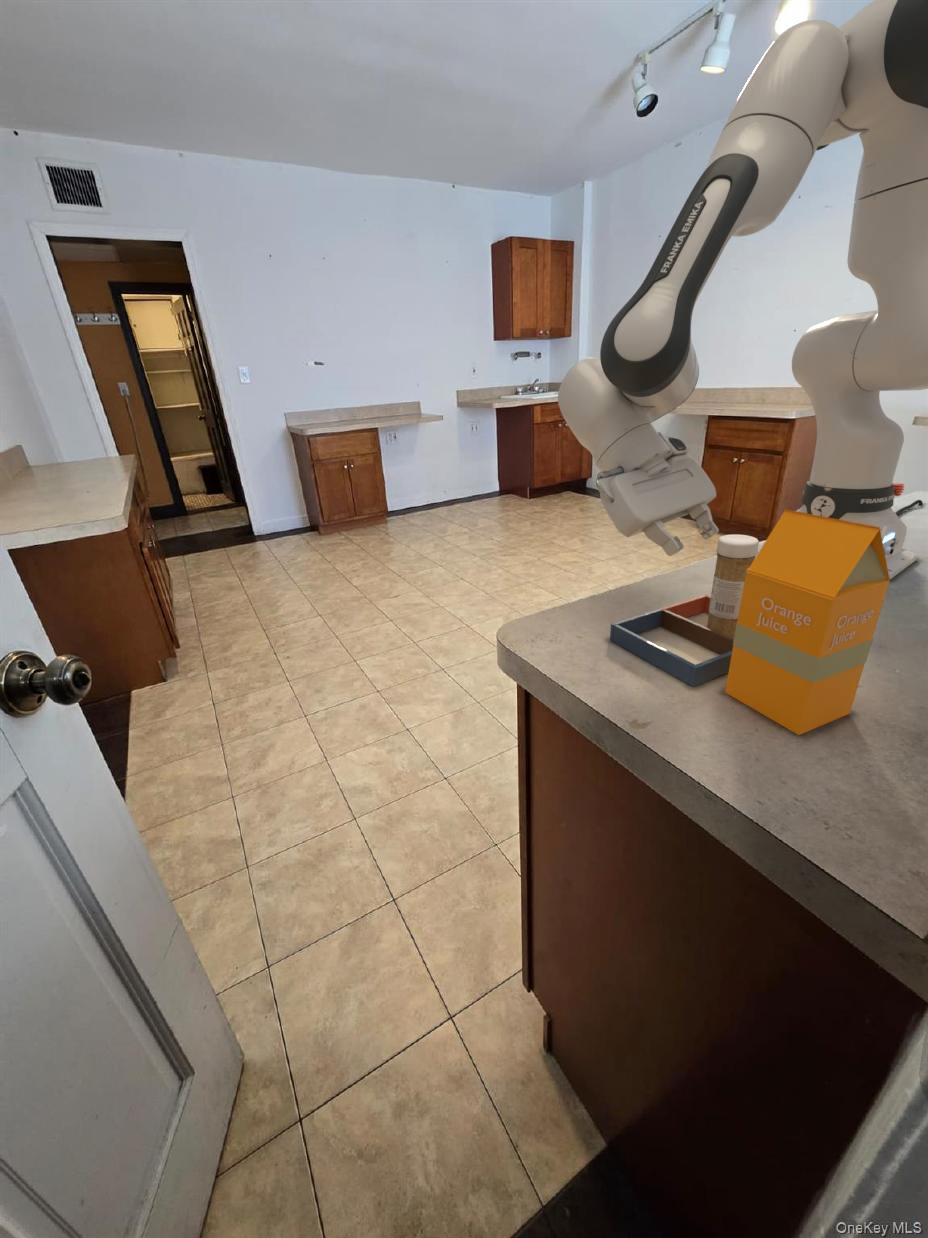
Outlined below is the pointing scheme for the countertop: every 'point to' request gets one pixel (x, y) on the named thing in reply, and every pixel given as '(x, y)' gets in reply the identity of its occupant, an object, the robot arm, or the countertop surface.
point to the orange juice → (808, 619)
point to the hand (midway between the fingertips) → (695, 543)
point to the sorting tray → (677, 623)
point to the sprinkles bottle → (730, 581)
